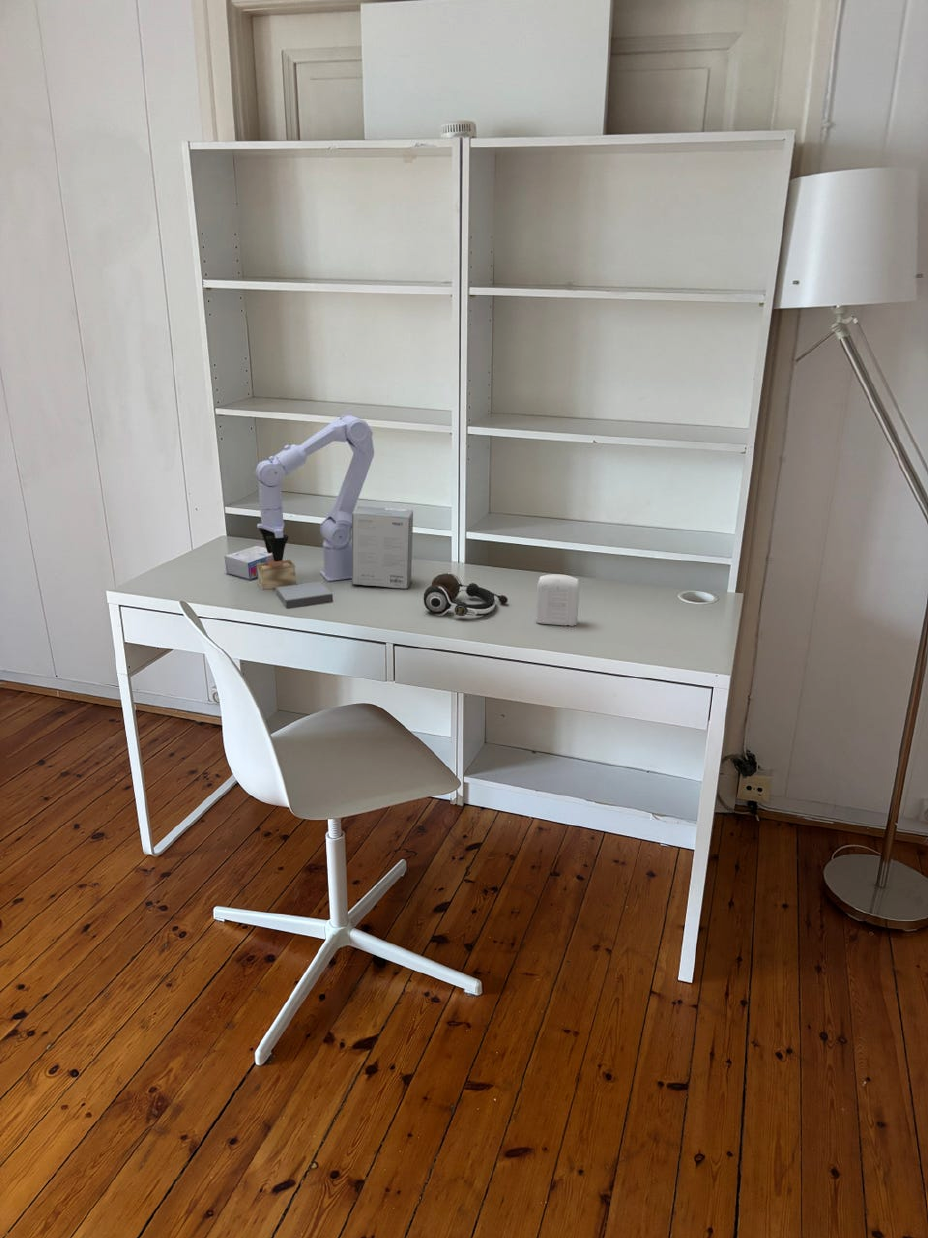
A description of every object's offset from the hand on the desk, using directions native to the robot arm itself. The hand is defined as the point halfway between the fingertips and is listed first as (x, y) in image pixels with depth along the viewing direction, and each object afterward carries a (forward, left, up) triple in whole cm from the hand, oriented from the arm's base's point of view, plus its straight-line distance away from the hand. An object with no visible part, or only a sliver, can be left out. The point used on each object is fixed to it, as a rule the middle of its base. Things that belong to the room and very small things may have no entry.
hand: (274, 556), depth 241 cm
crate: (0, 0, -3) cm, 3 cm away
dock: (-4, +13, -8) cm, 16 cm away
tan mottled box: (0, 0, -8) cm, 8 cm away
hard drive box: (-26, +11, -8) cm, 29 cm away
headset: (-39, +36, -8) cm, 54 cm away
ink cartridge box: (+9, -9, -5) cm, 14 cm away
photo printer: (-56, +54, -8) cm, 78 cm away
